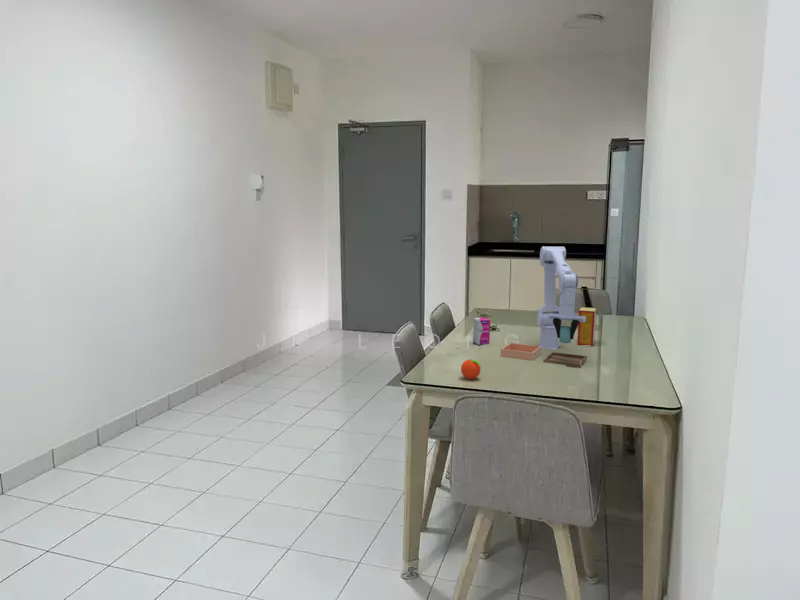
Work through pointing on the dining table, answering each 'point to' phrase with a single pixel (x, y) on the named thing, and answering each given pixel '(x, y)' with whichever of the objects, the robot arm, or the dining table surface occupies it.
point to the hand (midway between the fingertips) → (565, 338)
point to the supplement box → (481, 331)
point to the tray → (565, 359)
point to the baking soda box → (587, 326)
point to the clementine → (470, 369)
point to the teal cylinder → (565, 334)
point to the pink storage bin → (521, 351)
